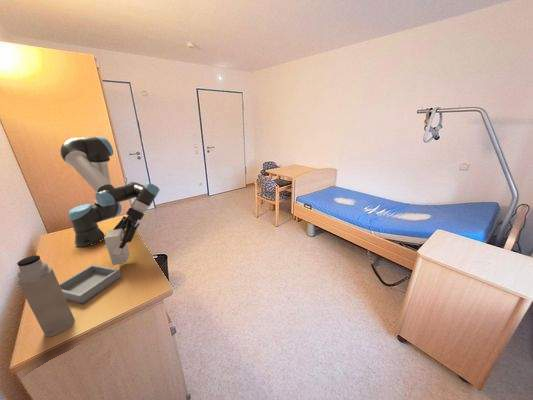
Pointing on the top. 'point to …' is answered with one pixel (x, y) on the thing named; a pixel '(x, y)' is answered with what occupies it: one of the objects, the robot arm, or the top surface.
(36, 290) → the thermos bottle
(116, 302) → the top surface
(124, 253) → the skincare box
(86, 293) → the tray
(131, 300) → the top surface
